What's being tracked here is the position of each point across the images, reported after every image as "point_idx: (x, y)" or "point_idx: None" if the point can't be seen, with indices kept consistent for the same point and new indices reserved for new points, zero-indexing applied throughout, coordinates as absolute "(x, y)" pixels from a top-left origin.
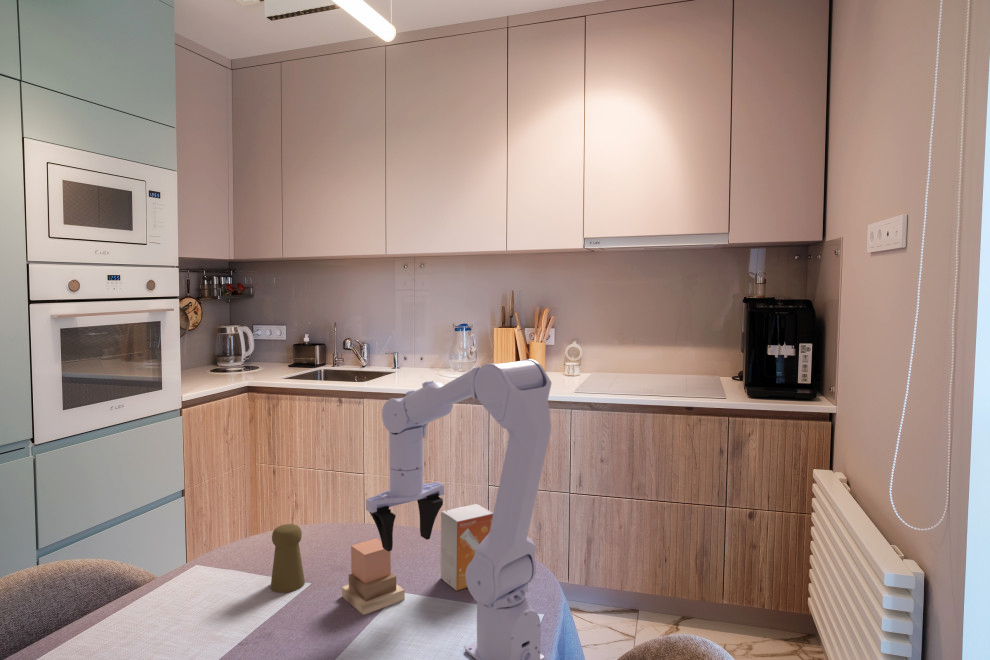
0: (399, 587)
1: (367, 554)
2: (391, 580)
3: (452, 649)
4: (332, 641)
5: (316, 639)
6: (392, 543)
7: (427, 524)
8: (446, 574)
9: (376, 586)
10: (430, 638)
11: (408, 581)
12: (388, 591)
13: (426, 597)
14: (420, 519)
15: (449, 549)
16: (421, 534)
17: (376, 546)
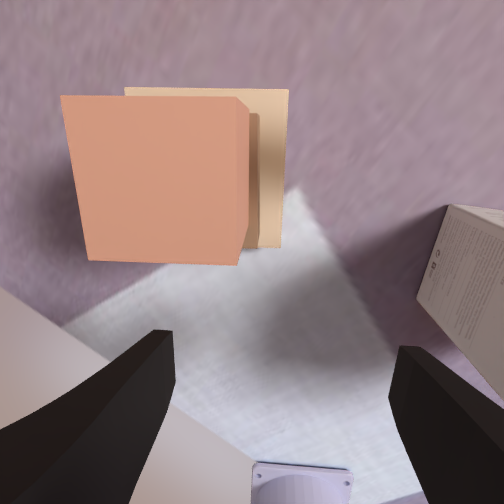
0: (276, 225)
1: (104, 259)
2: None
3: (240, 445)
4: (50, 284)
5: (19, 254)
6: (161, 422)
7: (430, 479)
8: (446, 254)
9: None
10: (229, 399)
11: (359, 149)
12: None
13: (332, 268)
14: (459, 413)
15: (500, 323)
16: (403, 359)
17: (180, 211)
